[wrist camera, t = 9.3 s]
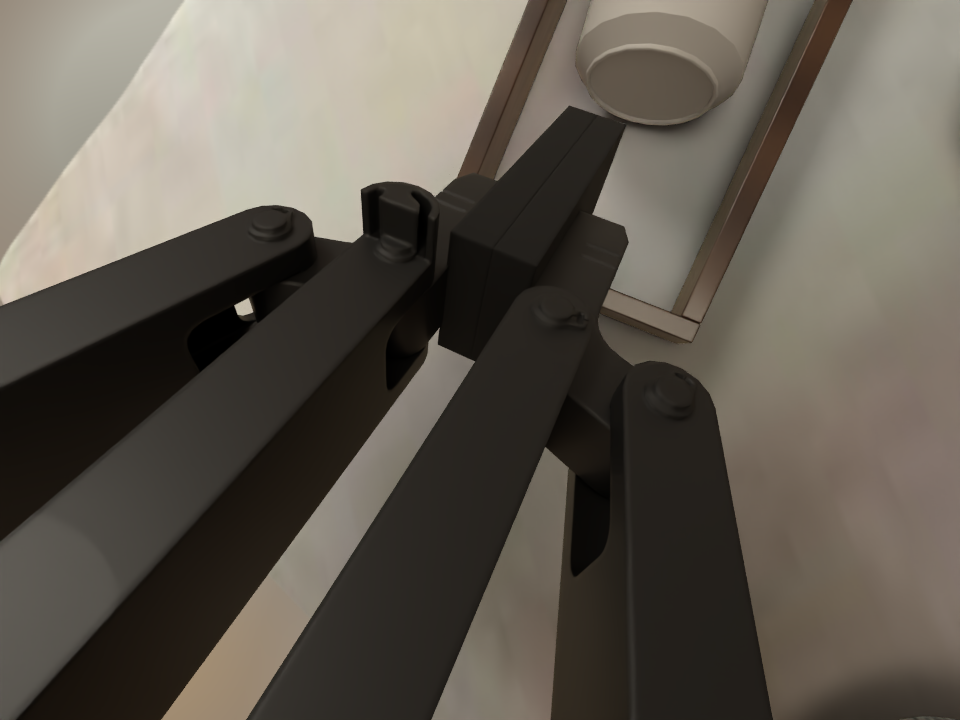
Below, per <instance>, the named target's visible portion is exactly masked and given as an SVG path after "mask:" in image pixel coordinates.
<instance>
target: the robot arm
mask: <svg viewBox="0 0 960 720" xmlns="http://www.w3.org/2000/svg"><path fill="white" fill-rule="evenodd" d="M625 127H626V124H623V123H620V122H617V121H614V120H611V119H608V118H605V117H602V116H599V115H596V114H593V113H590V112H587V111H584V110H581V109H578V108H575V107H572V106H569V107H568V108H567V109H566V110H565V111H564V112H563V113H562V114H561V115H560V116H559V117H558V118H557V119H556V120H555V121H554V122H553V123H552V125H551V126H550V127H549V128H548V129H547V130H546V131H545V132H544V133H543V134H542V135H541V136H540V137H539V138H538V139H537V140H536V141H535V142H534V144H533V145H532V146H531V147H530V148H529V149H528V150H527V151H526V152H525V153H524V154H523V155H522V156H521V157H520V158H519V159H518V160H517V162H516V163H515V164H514V165H513V166H512V167H511V168H510V169H509V170H508V171H507V172H506V173H505V174H504V175H503V176H502V177H501V178H500V179H499V181H495V180H493V179H490V178H487V177H485V176H482V175H479V174H477V173H471V174H468V175H465V176H462V177H459V178H456V179H454V180H453V181H452V182H451V183H450V184H449V185H448V186H447V187H446V188H445V189H443V192H440V193H439V194H438V195H437V196H436V197H434V196H433V195H432V194H431V193H430V192H428V191H426V190H424V189H423V188H421V187H419V186H415V185H412V184H408V183H404V182H382V183H376V184H372V185H370V186H367V187H365V188H363V189H361V201H362V218H363V235H362V236H361V237H360V238H358V239H357V240H356V241H355V242H354V243H349V242H342V241H336V240H330V239H324V238H318V237H314V233H313V227H312V221H311V220H310V219H309V218H308V217H307V216H306V214H305V213H303V212H300V211H298V210H296V209H294V208H290V207H284V206H279V205H272V206H260V207H256V208H252V209H248V210H245V211H243V212H240V213H237V214H235V215H232V216H230V217H227V218H225V219H222V220H220V221H217V222H214V223H212V224H209V225H207V226H204V227H202V228H199V229H197V230H194V231H191V232H189V233H186V234H184V235H181V236H179V237H176V238H174V239H171V240H168V241H166V242H163V243H161V244H158V245H156V246H153V247H151V248H148V249H145V250H143V251H140V252H138V253H135V254H133V255H130V256H128V257H125V258H122V259H120V260H117V261H115V262H112V263H110V264H107V265H105V266H102V267H100V268H97V269H94V270H92V271H89V272H87V273H84V274H82V275H79V276H77V277H74V278H71V279H69V280H66V281H64V282H61V283H59V284H56V285H54V286H51V287H48V288H46V289H43V290H41V291H38V292H36V293H33V294H31V295H28V296H25V297H23V298H20V299H18V300H15V301H13V302H10V303H8V304H5V305H2V306H0V720H161V719H162V718H163V716H164V715H165V714H166V712H167V711H168V710H169V708H170V707H171V705H172V704H173V703H174V701H175V700H176V699H177V697H178V696H179V695H180V693H181V692H182V691H183V689H184V688H185V686H186V685H187V684H188V682H189V681H190V680H191V678H192V677H193V676H194V674H195V673H196V672H197V670H198V669H199V667H200V666H201V665H202V663H203V662H204V661H205V659H206V658H207V656H208V655H209V654H210V652H211V651H212V650H213V648H214V647H215V646H216V644H217V643H218V642H219V640H220V639H221V637H222V636H223V635H224V633H225V632H226V631H227V629H228V628H229V626H230V625H231V624H232V623H233V621H234V620H235V619H236V617H237V616H238V614H239V613H240V612H241V610H242V609H243V608H244V606H245V605H246V604H247V602H248V601H249V600H250V598H251V597H252V595H253V594H254V593H255V591H256V590H257V589H258V587H259V586H260V584H261V583H262V582H263V581H264V579H265V578H266V576H267V575H268V574H269V572H270V571H271V570H272V568H273V567H274V566H275V564H276V563H277V561H278V560H279V559H280V557H281V556H282V555H283V553H284V552H285V551H286V549H287V548H288V547H289V545H290V544H291V542H292V541H293V540H294V538H295V537H296V536H297V534H298V533H299V532H300V530H301V529H302V528H303V526H304V525H305V523H306V522H307V521H308V519H309V518H310V517H311V515H312V514H313V513H314V511H315V510H316V509H317V507H318V506H319V504H320V503H321V502H322V500H323V499H324V498H325V496H326V495H327V494H328V492H329V491H330V489H331V488H332V487H333V485H334V484H335V483H336V481H337V480H338V479H339V477H340V476H341V475H342V473H343V472H344V470H345V469H346V468H347V466H348V465H349V464H350V462H351V461H352V460H353V458H354V457H355V456H356V454H357V453H358V451H359V450H360V449H361V447H362V446H363V445H364V443H365V442H366V441H367V439H368V438H369V436H370V435H371V434H372V432H373V431H374V430H375V428H376V427H377V426H378V424H379V423H380V422H381V420H382V419H383V417H384V416H385V415H386V413H387V412H388V411H389V409H390V408H391V407H392V405H393V404H394V403H395V401H396V400H397V398H398V397H399V396H400V394H401V393H402V392H403V390H404V389H405V388H406V386H407V385H408V384H409V382H410V381H411V379H412V378H413V377H414V375H415V374H416V373H417V371H418V370H419V369H420V367H421V366H422V364H423V363H424V361H425V359H426V356H427V354H428V342H429V340H430V339H431V338H432V336H433V335H434V334H435V332H436V331H437V330H438V329H439V327H440V329H439V338H438V345H440V346H442V347H444V348H447V349H449V350H451V351H453V352H456V353H458V354H460V355H462V356H464V357H467V358H469V359H471V360H473V361H475V363H474V364H473V366H472V367H471V369H470V371H469V372H468V374H467V375H466V377H465V378H464V380H463V382H462V383H461V385H460V386H459V388H458V389H457V391H456V393H455V394H454V396H453V397H452V399H451V400H450V402H449V403H448V405H447V407H446V408H445V410H444V411H443V413H442V414H441V416H440V418H439V419H438V421H437V422H436V424H435V425H434V427H433V428H432V430H431V432H430V433H429V435H428V436H427V438H426V439H425V441H424V443H423V444H422V446H421V447H420V449H419V450H418V452H417V453H416V455H415V457H414V458H413V460H412V461H411V463H410V464H409V466H408V468H407V469H406V471H405V472H404V474H403V475H402V477H401V479H400V480H399V482H398V483H397V485H396V486H395V488H394V489H393V491H392V493H391V494H390V496H389V497H388V499H387V500H386V502H385V504H384V505H383V507H382V508H381V510H380V511H379V513H378V514H377V516H376V518H375V519H374V521H373V522H372V524H371V525H370V527H369V529H368V530H367V532H366V533H365V535H364V536H363V538H362V539H361V541H360V543H359V544H358V546H357V547H356V549H355V550H354V552H353V554H352V555H351V557H350V558H349V560H348V561H347V563H346V565H345V566H344V568H343V569H342V571H341V572H340V574H339V575H338V577H337V579H336V580H335V582H334V583H333V585H332V586H331V588H330V590H329V591H328V593H327V594H326V596H325V597H324V599H323V600H322V602H321V604H320V605H319V607H318V608H317V610H316V611H315V613H314V615H313V616H312V618H311V619H310V621H309V622H308V624H307V625H306V627H305V629H304V630H303V632H302V633H301V635H300V636H299V638H298V640H297V641H296V643H295V644H294V646H293V647H292V649H291V651H290V652H289V654H288V655H287V657H286V658H285V660H284V661H283V663H282V665H281V666H280V668H279V669H278V671H277V672H276V674H275V676H274V677H273V679H272V680H271V682H270V683H269V685H268V686H267V688H266V690H265V691H264V693H263V694H262V696H261V698H260V699H259V701H258V702H257V704H256V705H255V707H254V708H253V710H252V711H251V713H250V715H249V716H248V718H247V719H246V720H431V719H432V717H433V714H434V712H435V709H436V707H437V705H438V702H439V700H440V697H441V695H442V693H443V690H444V688H445V685H446V683H447V681H448V678H449V676H450V673H451V671H452V669H453V666H454V664H455V661H456V659H457V657H458V654H459V652H460V649H461V647H462V645H463V642H464V640H465V638H466V635H467V633H468V630H469V628H470V626H471V623H472V621H473V618H474V616H475V614H476V611H477V609H478V606H479V604H480V602H481V599H482V597H483V594H484V592H485V590H486V587H487V585H488V582H489V580H490V578H491V575H492V573H493V570H494V568H495V566H496V563H497V561H498V558H499V556H500V554H501V551H502V549H503V547H504V544H505V542H506V539H507V537H508V535H509V532H510V530H511V527H512V525H513V523H514V520H515V518H516V515H517V513H518V511H519V508H520V506H521V503H522V501H523V499H524V496H525V494H526V491H527V489H528V487H529V484H530V482H531V479H532V477H533V475H534V472H535V470H536V467H537V465H538V463H539V460H540V458H541V456H542V453H543V451H544V448H545V447H546V448H547V449H548V450H549V451H551V452H552V453H553V454H554V455H555V456H556V457H557V458H558V459H560V460H561V461H562V462H563V463H564V464H565V465H566V466H567V467H568V468H569V470H568V482H567V496H566V511H565V525H564V539H563V553H562V567H561V582H560V596H559V610H558V624H557V638H556V653H555V667H554V681H553V695H552V709H551V720H773V718H772V713H771V707H770V702H769V696H768V691H767V685H766V680H765V675H764V669H763V664H762V658H761V653H760V647H759V642H758V637H757V631H756V626H755V620H754V615H753V610H752V604H751V599H750V593H749V588H748V582H747V577H746V572H745V566H744V561H743V555H742V550H741V544H740V539H739V534H738V528H737V523H736V517H735V512H734V507H733V501H732V496H731V490H730V485H729V479H728V474H727V469H726V463H725V458H724V452H723V447H722V441H721V436H720V431H719V425H718V420H717V414H716V409H715V406H714V404H713V401H712V399H711V396H710V394H709V392H708V391H707V390H706V389H705V388H704V387H703V385H702V384H701V383H700V382H699V381H698V380H697V379H696V378H695V377H693V376H692V375H690V374H689V373H687V372H686V371H685V370H683V369H681V368H679V367H676V366H673V365H671V364H668V363H666V362H655V361H647V362H644V363H640V364H636V365H635V366H633V365H631V364H630V363H628V362H627V361H626V360H624V359H623V358H622V357H620V356H619V355H618V354H617V353H616V352H615V351H613V350H612V349H611V348H610V347H609V345H608V344H607V343H606V342H605V340H604V339H603V337H602V335H601V333H600V331H599V326H598V317H599V313H600V310H601V308H602V305H603V303H604V301H605V298H606V296H607V293H608V291H609V289H610V286H611V284H612V281H613V279H614V277H615V274H616V272H617V269H618V267H619V265H620V262H621V260H622V257H623V255H624V253H625V250H626V248H627V245H628V243H629V242H628V238H627V235H626V231H625V227H624V226H621V225H618V224H616V223H613V222H610V221H608V220H605V219H602V218H600V217H597V216H594V215H592V214H593V211H594V209H595V206H596V203H597V201H598V198H599V195H600V193H601V190H602V188H603V185H604V182H605V180H606V177H607V174H608V172H609V169H610V166H611V164H612V161H613V158H614V156H615V153H616V151H617V148H618V145H619V143H620V140H621V137H622V135H623V132H624V129H625ZM247 298H249V300H250V303H251V306H252V309H253V313H251V314H247V315H244V316H241V315H237V312H236V309H235V307H234V305H236V304H238V303H240V302H241V301H243V300H245V299H247Z"/></svg>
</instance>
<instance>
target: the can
mask: <svg viewBox="0 0 960 720" xmlns="http://www.w3.org/2000/svg"><path fill="white" fill-rule="evenodd" d="M767 3H768V0H591V3H590V6H589V9H588V13H587V16H586V19H585V23H584V26H583V29H582V33H581V36H580V39H579V43H578V46H577V49H576V68H577V70H578V73H579V75H580V77H581V79H582V81H583V83H584V84H585V86H586V87H587V89H588V92H589V94H590V96H591V97H592V98H593V99H594V101H595V102H596V103H597V104H598V105H599V106H600V107H602V108H603V109H605V110H607V111H608V112H610V113H611V114H613V115H615V116H618V117H620V118H623V119H625V120H628V121H632V122H637V123H641V124H646V125H672V124H680V123H684V122H687V121H690V120H693V119H696V118H698V117H700V116H701V115H703V114H704V113H705V112H707V111H708V110H710V109H713V108H715V107H717V106H718V105H719V104H721V103H722V102H724V101H725V100H726V99H728V98H729V97H731V96H732V95H733V93H734V92H735V90H736V89H737V87H738V86H739V84H740V82H741V81H742V78H743V75H744V72H745V69H746V66H747V63H748V60H749V57H750V54H751V51H752V48H753V45H754V42H755V39H756V36H757V33H758V30H759V27H760V24H761V21H762V18H763V15H764V12H765V9H766V6H767Z"/></svg>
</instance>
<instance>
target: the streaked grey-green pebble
mask: <svg viewBox="0 0 960 720" xmlns="http://www.w3.org/2000/svg"><path fill="white" fill-rule="evenodd" d="M899 720H957V719H951V718H941V717H932V716H920V717H912V718H904V719H899Z"/></svg>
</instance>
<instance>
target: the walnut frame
mask: <svg viewBox="0 0 960 720" xmlns="http://www.w3.org/2000/svg"><path fill="white" fill-rule="evenodd" d="M566 1H567V0H529V1H528V3H527V6H526V8H525V11H524V13H523V16H522V18H521V21H520V23H519V26H518V28H517V31H516V33H515V36H514V38H513V41H512V43H511V45H510V48H509V50H508V53H507V55H506V58H505V60H504V63H503V65H502V68H501V70H500V73H499V75H498V78H497V80H496V83H495V85H494V88H493V90H492V93H491V95H490V98H489V100H488V103H487V105H486V107H485V110H484V112H483V115H482V117H481V120H480V122H479V125H478V127H477V130H476V132H475V135H474V137H473V140H472V142H471V145H470V147H469V150H468V152H467V155H466V157H465V160H464V162H463V165H462V167H461V169H460V172H459V174H458V177H457V178H459V177H462V176H465V175H468V174H471V173H477V174H479V175H482V176H485V177H487V178H490V179H494V177H495V174H496V172H497V169H498V167H499V164H500V162H501V160H502V157H503V155H504V152H505V150H506V147H507V145H508V142H509V140H510V138H511V135H512V133H513V130H514V128H515V125H516V123H517V121H518V118H519V116H520V113H521V111H522V108H523V106H524V104H525V101H526V99H527V96H528V94H529V91H530V89H531V87H532V84H533V82H534V79H535V77H536V74H537V72H538V69H539V67H540V65H541V62H542V60H543V57H544V55H545V52H546V50H547V48H548V45H549V43H550V40H551V38H552V35H553V33H554V31H555V28H556V26H557V23H558V21H559V18H560V16H561V14H562V11H563V9H564V6H565V4H566ZM852 1H853V0H815V1H814V3H813V6H812V8H811V10H810V12H809V14H808V16H807V19H806V21H805V23H804V25H803V27H802V29H801V32H800V34H799V36H798V38H797V40H796V42H795V45H794V47H793V49H792V51H791V53H790V55H789V58H788V60H787V62H786V64H785V66H784V68H783V71H782V73H781V75H780V77H779V79H778V81H777V84H776V86H775V88H774V90H773V92H772V94H771V97H770V99H769V101H768V103H767V105H766V107H765V110H764V112H763V114H762V116H761V118H760V121H759V123H758V125H757V127H756V129H755V131H754V134H753V136H752V138H751V140H750V142H749V144H748V147H747V149H746V151H745V153H744V155H743V157H742V160H741V162H740V164H739V166H738V168H737V170H736V173H735V175H734V177H733V179H732V181H731V183H730V186H729V188H728V190H727V192H726V194H725V196H724V199H723V201H722V203H721V205H720V207H719V209H718V212H717V214H716V216H715V218H714V220H713V222H712V225H711V227H710V229H709V231H708V233H707V235H706V238H705V240H704V242H703V244H702V246H701V248H700V251H699V253H698V255H697V257H696V259H695V261H694V264H693V266H692V268H691V270H690V272H689V274H688V277H687V279H686V281H685V283H684V285H683V288H682V290H681V292H680V294H679V296H678V298H677V301H676V303H675V305H674V307H673V309H672V311H671V312H669V311H666V310H664V309H661V308H659V307H656V306H653V305H651V304H648V303H646V302H643V301H641V300H638V299H636V298H633V297H631V296H628V295H625V294H623V293H620V292H618V291H615V290H613V289H609V291H608V293H607V296H606V298H605V301H604V303H603V305H602V308H601V310H600V313H601V314H603V315H606V316H608V317H611V318H613V319H616V320H618V321H621V322H623V323H626V324H628V325H630V326H633V327H635V328H638V329H640V330H643V331H645V332H648V333H650V334H653V335H655V336H658V337H660V338H663V339H665V340H668V341H670V342H673V343H675V344H683V343H692V342H693V340H694V338H695V336H696V334H697V332H698V329H699V327H700V323H702V321H703V319H704V317H705V314H706V312H707V310H708V308H709V306H710V304H711V302H712V299H713V297H714V295H715V293H716V291H717V289H718V287H719V285H720V282H721V280H722V278H723V276H724V274H725V272H726V270H727V267H728V265H729V263H730V261H731V259H732V257H733V255H734V253H735V250H736V248H737V246H738V244H739V242H740V240H741V238H742V235H743V233H744V231H745V229H746V227H747V225H748V223H749V221H750V218H751V216H752V214H753V212H754V210H755V208H756V206H757V203H758V201H759V199H760V197H761V195H762V193H763V191H764V189H765V186H766V184H767V182H768V180H769V178H770V176H771V174H772V171H773V169H774V167H775V165H776V163H777V161H778V159H779V156H780V154H781V152H782V150H783V148H784V146H785V144H786V142H787V139H788V137H789V135H790V133H791V131H792V129H793V127H794V124H795V122H796V120H797V118H798V116H799V114H800V112H801V110H802V107H803V105H804V103H805V101H806V99H807V97H808V95H809V92H810V90H811V88H812V86H813V84H814V82H815V80H816V78H817V75H818V73H819V71H820V69H821V67H822V65H823V63H824V60H825V58H826V56H827V54H828V52H829V50H830V48H831V46H832V43H833V41H834V39H835V37H836V35H837V33H838V31H839V28H840V26H841V24H842V22H843V20H844V18H845V16H846V14H847V11H848V9H849V7H850V5H851V3H852Z"/></svg>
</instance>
